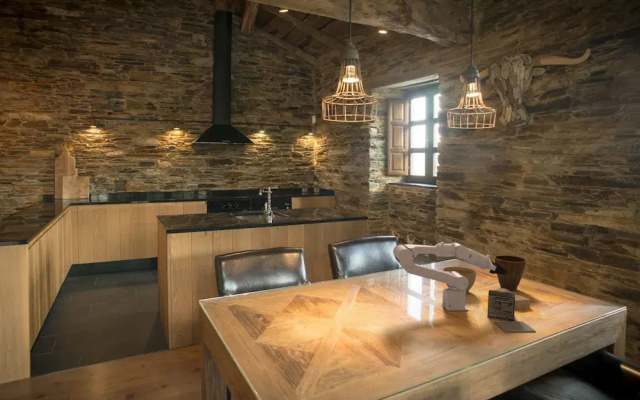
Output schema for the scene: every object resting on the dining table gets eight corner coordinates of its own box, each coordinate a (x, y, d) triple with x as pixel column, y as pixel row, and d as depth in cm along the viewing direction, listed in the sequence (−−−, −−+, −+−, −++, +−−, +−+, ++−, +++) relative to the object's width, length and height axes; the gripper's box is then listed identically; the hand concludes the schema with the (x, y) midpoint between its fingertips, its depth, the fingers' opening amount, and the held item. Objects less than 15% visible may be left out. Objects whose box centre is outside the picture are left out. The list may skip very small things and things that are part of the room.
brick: (530, 308, 189) (531, 298, 188) (516, 310, 186) (516, 300, 185) (503, 297, 204) (504, 287, 204) (489, 298, 201) (490, 289, 201)
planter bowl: (478, 290, 213) (479, 269, 212) (471, 298, 200) (472, 276, 199) (447, 284, 222) (448, 264, 221) (438, 292, 209) (439, 271, 207)
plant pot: (496, 282, 227) (498, 253, 225) (526, 287, 218) (528, 257, 217) (489, 289, 215) (491, 259, 213) (521, 295, 206) (523, 263, 204)
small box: (514, 316, 178) (515, 292, 177) (514, 321, 172) (515, 297, 171) (487, 312, 183) (489, 289, 182) (486, 317, 177) (488, 293, 176)
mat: (505, 332, 161) (505, 331, 161) (494, 322, 171) (494, 321, 171) (535, 332, 162) (535, 330, 162) (522, 322, 171) (522, 321, 171)
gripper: (487, 254, 179) (514, 267, 180) (472, 246, 193) (497, 258, 195) (479, 269, 179) (506, 281, 181) (465, 260, 194) (490, 271, 195)
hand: (501, 270), depth 188 cm, fingers open, 7 cm apart
